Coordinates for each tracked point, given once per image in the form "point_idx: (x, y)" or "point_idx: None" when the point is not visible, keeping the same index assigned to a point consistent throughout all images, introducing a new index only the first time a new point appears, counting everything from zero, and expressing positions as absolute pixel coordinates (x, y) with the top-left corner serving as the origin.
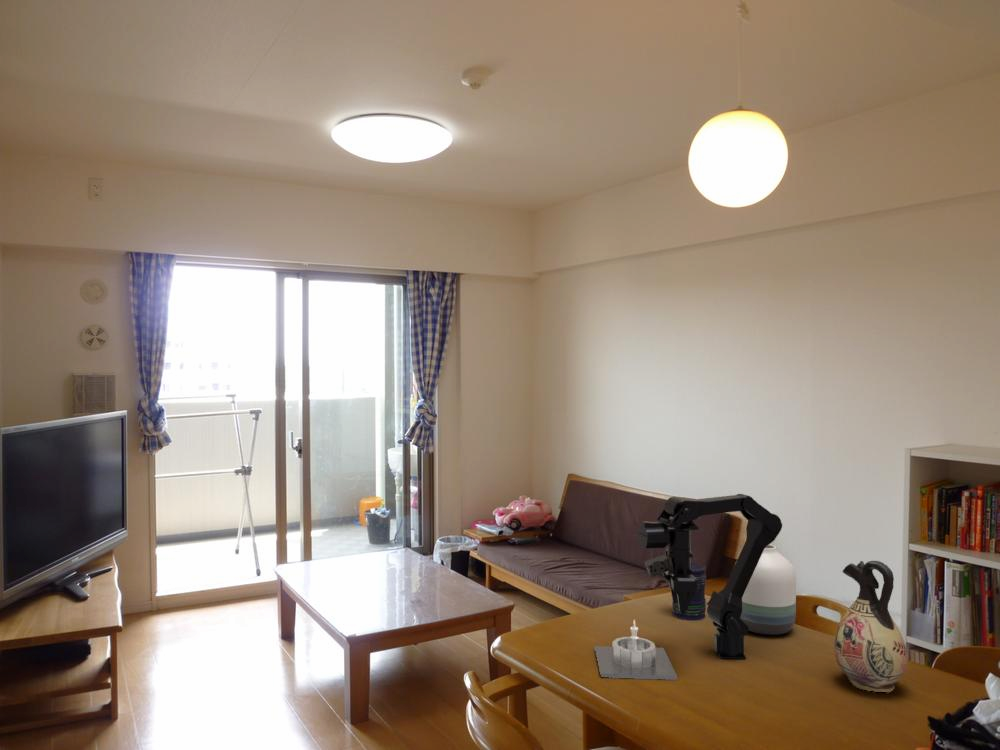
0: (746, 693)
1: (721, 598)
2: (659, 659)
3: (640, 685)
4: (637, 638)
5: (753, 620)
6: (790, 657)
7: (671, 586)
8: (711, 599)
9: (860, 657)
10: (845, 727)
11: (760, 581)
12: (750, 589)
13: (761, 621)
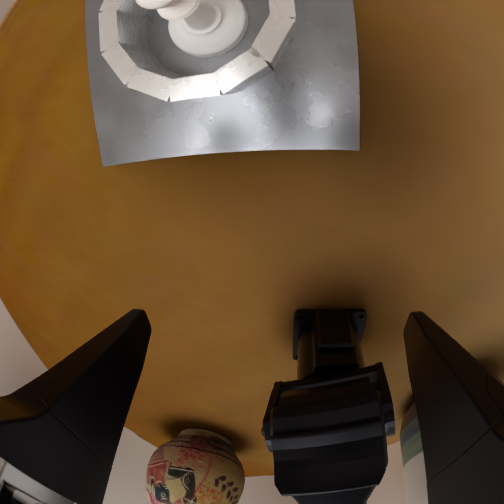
0: (99, 304)
1: (304, 483)
2: (227, 115)
3: (61, 66)
4: (164, 16)
5: None
6: None
7: (467, 409)
8: (373, 449)
9: (149, 466)
10: None
11: None
12: None
13: (416, 422)
